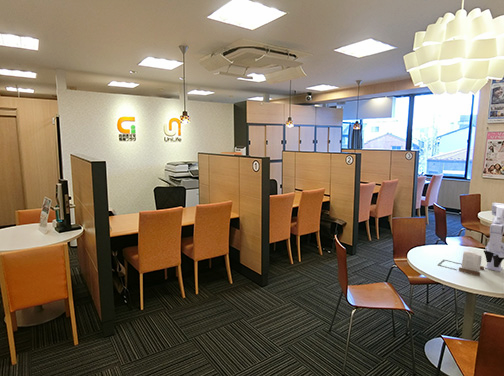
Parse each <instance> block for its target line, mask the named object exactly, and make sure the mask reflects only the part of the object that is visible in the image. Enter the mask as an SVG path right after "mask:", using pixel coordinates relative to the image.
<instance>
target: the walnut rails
mask: <svg viewBox="0 0 504 376" xmlns="http://www.w3.org/2000/svg"><path fill="white" fill-rule="evenodd" d="M481 270H482V271H485V266H482V265H481V266H480V271H481ZM458 271H459V272H462V273H466V274H470V275H474V276H478V277H479V276H481V275H480V274H481V272H477V271H473V270H469V269H465V268H462V266H461V267H458Z"/></svg>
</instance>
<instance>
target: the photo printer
mask: <svg viewBox="0 0 504 376" xmlns="http://www.w3.org/2000/svg"><path fill="white" fill-rule="evenodd" d="M461 264H462V265H461V268H465V269H469V270H473V271H477V272H480V271H481V269H480V266H482V265H481V264H482V255H481V254H479V253H477V252H475V251H471V250H465V251H463V254H462V261H461ZM480 273H481V272H480Z"/></svg>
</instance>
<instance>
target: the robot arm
mask: <svg viewBox="0 0 504 376" xmlns="http://www.w3.org/2000/svg"><path fill="white" fill-rule="evenodd" d="M491 214H492V216H494V217H493V218H492V221H491V224H490V226H489V241H488V242H487V245H486V246H485V247H484V248H485V249H484V250H483V253H484V255H485V260H486V266H484V269H486V270H491V271H496V272H499V273H500V272H501V271H502V270H503V267H502V262H503V260H504V242H502V239H503V234H504V203H503V202H502V203H500V202H492V204H491Z"/></svg>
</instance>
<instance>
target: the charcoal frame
mask: <svg viewBox="0 0 504 376" xmlns="http://www.w3.org/2000/svg"><path fill="white" fill-rule="evenodd" d="M445 261H446V262H449V263H450V262H451V263H454V264H457V265H461V266H462V263H460V262H455V261H451V260H449V259H448V260H447V259H442V260H441V261H440V262H439V263H438V264H437V266H439V267H442V268H446V269H447V268H448V269H450V270H455V271H458V269H457V268H453V267H448V266H445V265H441V264H442V263H444V262H445Z"/></svg>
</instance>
